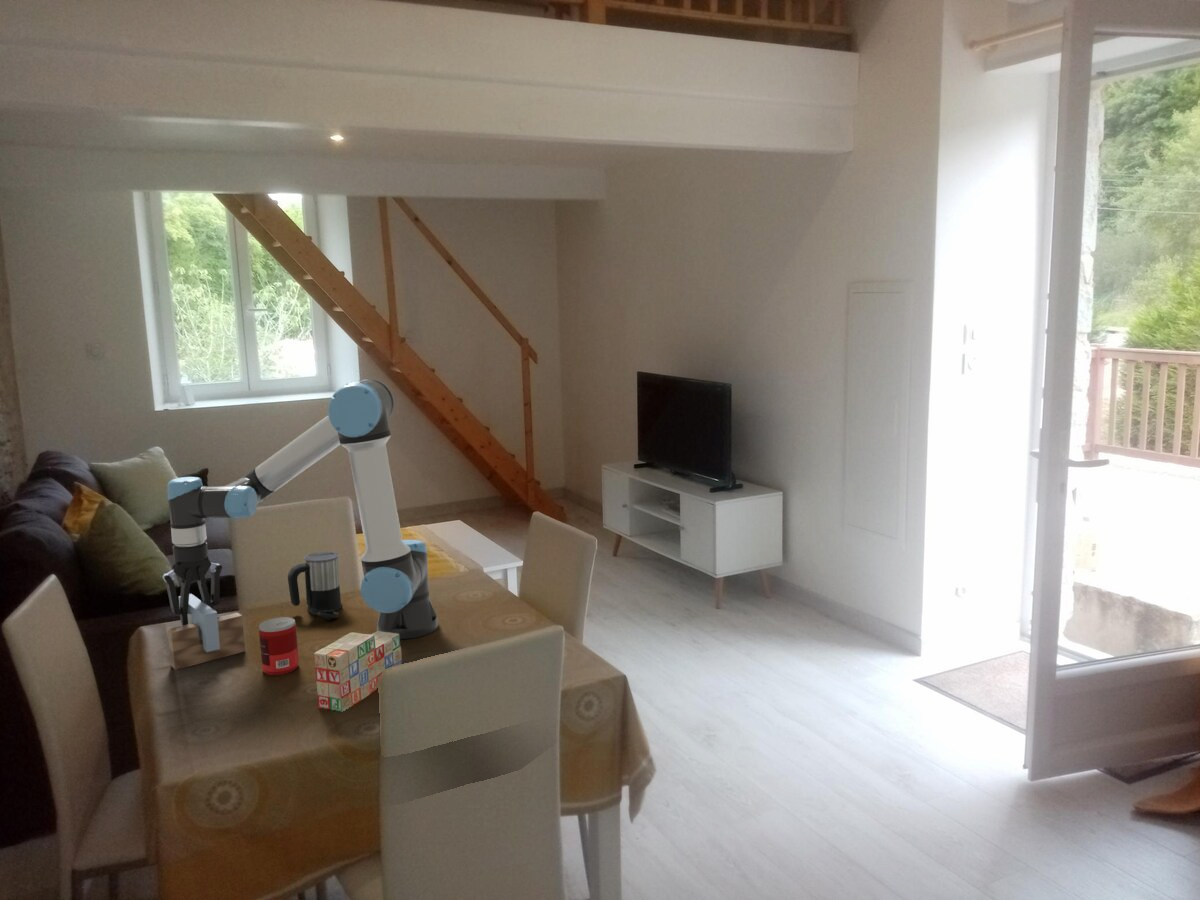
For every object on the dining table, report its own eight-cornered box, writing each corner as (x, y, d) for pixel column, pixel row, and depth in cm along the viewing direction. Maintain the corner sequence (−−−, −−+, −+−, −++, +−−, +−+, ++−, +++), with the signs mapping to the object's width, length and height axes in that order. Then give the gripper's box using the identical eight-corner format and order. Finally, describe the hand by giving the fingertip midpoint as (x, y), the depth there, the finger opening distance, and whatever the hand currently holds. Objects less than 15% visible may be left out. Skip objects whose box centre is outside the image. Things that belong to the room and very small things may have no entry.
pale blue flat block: (220, 648, 211) (216, 612, 209) (206, 652, 209) (203, 615, 207) (194, 628, 224) (191, 593, 222) (181, 631, 222) (178, 596, 221)
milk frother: (329, 600, 254) (325, 549, 251) (365, 610, 245) (361, 558, 242) (284, 615, 243) (280, 561, 240) (321, 626, 233) (317, 571, 231)
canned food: (305, 664, 209) (302, 618, 207) (283, 677, 202) (279, 630, 200) (278, 660, 212) (274, 615, 210) (255, 673, 204) (251, 627, 202)
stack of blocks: (379, 669, 206) (376, 617, 204) (403, 672, 203) (399, 620, 201) (317, 708, 186) (313, 652, 184) (342, 713, 184) (338, 656, 182)
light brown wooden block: (240, 647, 220) (237, 612, 218) (245, 651, 218) (242, 615, 216) (171, 666, 209) (167, 629, 208) (175, 669, 207) (171, 632, 206)
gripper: (219, 533, 221) (226, 624, 225) (148, 546, 211) (158, 641, 215) (230, 539, 216) (237, 632, 220) (158, 552, 205) (167, 650, 209)
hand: (198, 636), depth 217 cm, fingers closed on pale blue flat block, 3 cm apart
